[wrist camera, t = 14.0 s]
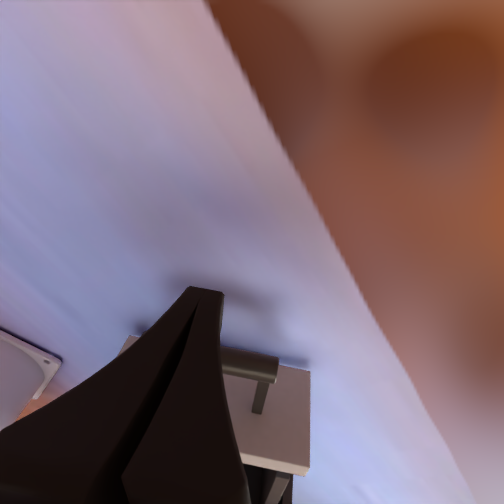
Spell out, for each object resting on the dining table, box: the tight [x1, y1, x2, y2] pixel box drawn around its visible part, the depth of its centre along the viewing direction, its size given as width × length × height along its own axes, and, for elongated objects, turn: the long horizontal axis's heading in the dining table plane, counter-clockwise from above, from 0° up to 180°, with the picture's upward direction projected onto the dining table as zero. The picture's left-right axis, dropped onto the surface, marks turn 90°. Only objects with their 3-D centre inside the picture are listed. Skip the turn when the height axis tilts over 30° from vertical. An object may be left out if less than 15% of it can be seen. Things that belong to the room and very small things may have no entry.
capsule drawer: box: [117, 331, 310, 504], centre depth 21 cm, size 16×12×6 cm
